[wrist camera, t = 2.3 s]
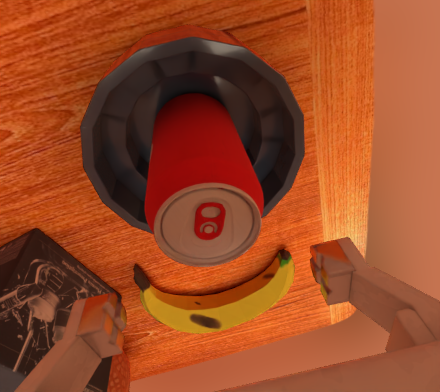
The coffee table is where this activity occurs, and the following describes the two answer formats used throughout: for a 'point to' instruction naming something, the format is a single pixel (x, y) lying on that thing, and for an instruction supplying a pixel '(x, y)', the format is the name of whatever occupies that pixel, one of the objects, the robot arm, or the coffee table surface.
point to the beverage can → (201, 184)
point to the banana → (219, 300)
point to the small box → (41, 306)
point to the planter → (119, 374)
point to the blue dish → (178, 85)
